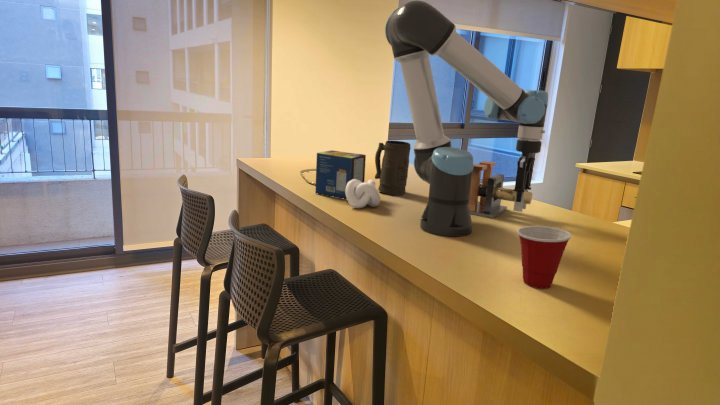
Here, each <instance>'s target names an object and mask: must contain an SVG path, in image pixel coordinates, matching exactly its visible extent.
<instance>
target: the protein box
mask: <svg viewBox="0 0 720 405" xmlns="http://www.w3.org/2000/svg"><path fill="white" fill-rule="evenodd" d="M366 159H367V158H366V154H362V153H354V152H346V151H338V150H326V151H320V152H316V167H315V169H316V172H315V183H316V185H315V194H316V193H318V194H317V195H320V194H323V195H322V196H325V195H328V196H327V197H330V196H334V197H333V198H335V197H339V198H338V199H340V198H344V199H343V200H345V199H347V198H346V193H345V190H346V185H347V183H348V182H349V181H351V180H353V179H356V180H359V181H361V182H362V183H364V182H365V176H366V174H365V173H366ZM355 189H356V188H355ZM355 189H354V192H355Z"/></svg>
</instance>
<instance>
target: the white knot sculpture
mask: <svg viewBox="0 0 720 405" xmlns="http://www.w3.org/2000/svg"><path fill="white" fill-rule="evenodd" d="M355 188H356V189H355ZM354 189H355V192H354ZM379 192H380V191H379V190H378V188H377V187H376V182H375V180H374V179H372V178H371V179H367V181H364V183H362V182H361V181H359V180H356V179H353V180H351V181H349V182H348V183H347V185H346V190H345V193H346V198H347V200H346V201H347V202H348V204H349V205H350V206H351V207H353V208H355V209H362V208H366V206H367V205H368V206H369V207H377V206H379V204H380V202H381V196H380V195H381V194H380V193H379Z"/></svg>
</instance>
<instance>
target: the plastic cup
mask: <svg viewBox="0 0 720 405" xmlns="http://www.w3.org/2000/svg"><path fill="white" fill-rule="evenodd" d="M516 233H517V234H518V237H519V241H520V248H521V249H520V250H521V255H520V256H521V266H522V282H523V283H524V284H525V285H527V286H528V287H529V286H530V287H532V288H536V289H541V290H543V289H549V288H551V286H552V285H553V282H554V279H555V276H556V274H557V272H558V269H559V266H560V263H561V260H562V257H563V254H564V252H565V250H566V247H567V245H568V242H569V240H570V239H572V238H571V237H572V233H571V232H569V231H568V230H565V229H562V228H559V227H553V226H546V225H545V226H544V225H528V226H523V227H520V228H517V230H516Z"/></svg>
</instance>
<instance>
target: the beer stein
mask: <svg viewBox="0 0 720 405" xmlns="http://www.w3.org/2000/svg"><path fill="white" fill-rule="evenodd" d="M384 143H385V144H384ZM411 149H412V148H411V143H409V142H406V141H402V140H386V141H385V142H379V143H378V147H377V149H376V152H375V156H374V158H375V159H374V163H375V169H376V173H375V175H374V179H375V180H379V185H378V188H377V191H378V192H380V193H383V194H385V195H390V196H391V195H392V196H402V195H405V194H406V186H407V182H408V175H409V174H408V173H409V165H410V154H411ZM383 151H384V152H383ZM382 152H383V156H382ZM381 156H382V160H381ZM381 161H382V162H381Z"/></svg>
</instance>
